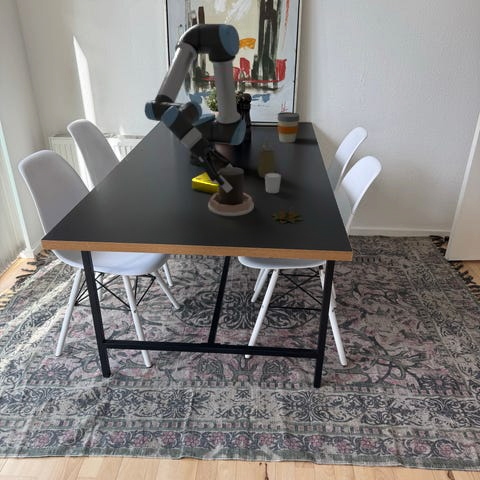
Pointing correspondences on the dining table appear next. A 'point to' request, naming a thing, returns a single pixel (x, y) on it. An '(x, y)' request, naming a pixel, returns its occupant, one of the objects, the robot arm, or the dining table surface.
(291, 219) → the succulent plant
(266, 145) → the squeeze bottle
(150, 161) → the dining table surface
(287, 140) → the reusable coffee cup
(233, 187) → the pillar candle
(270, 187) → the shot glass
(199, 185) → the yellow square box
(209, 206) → the pink round shallow dish
